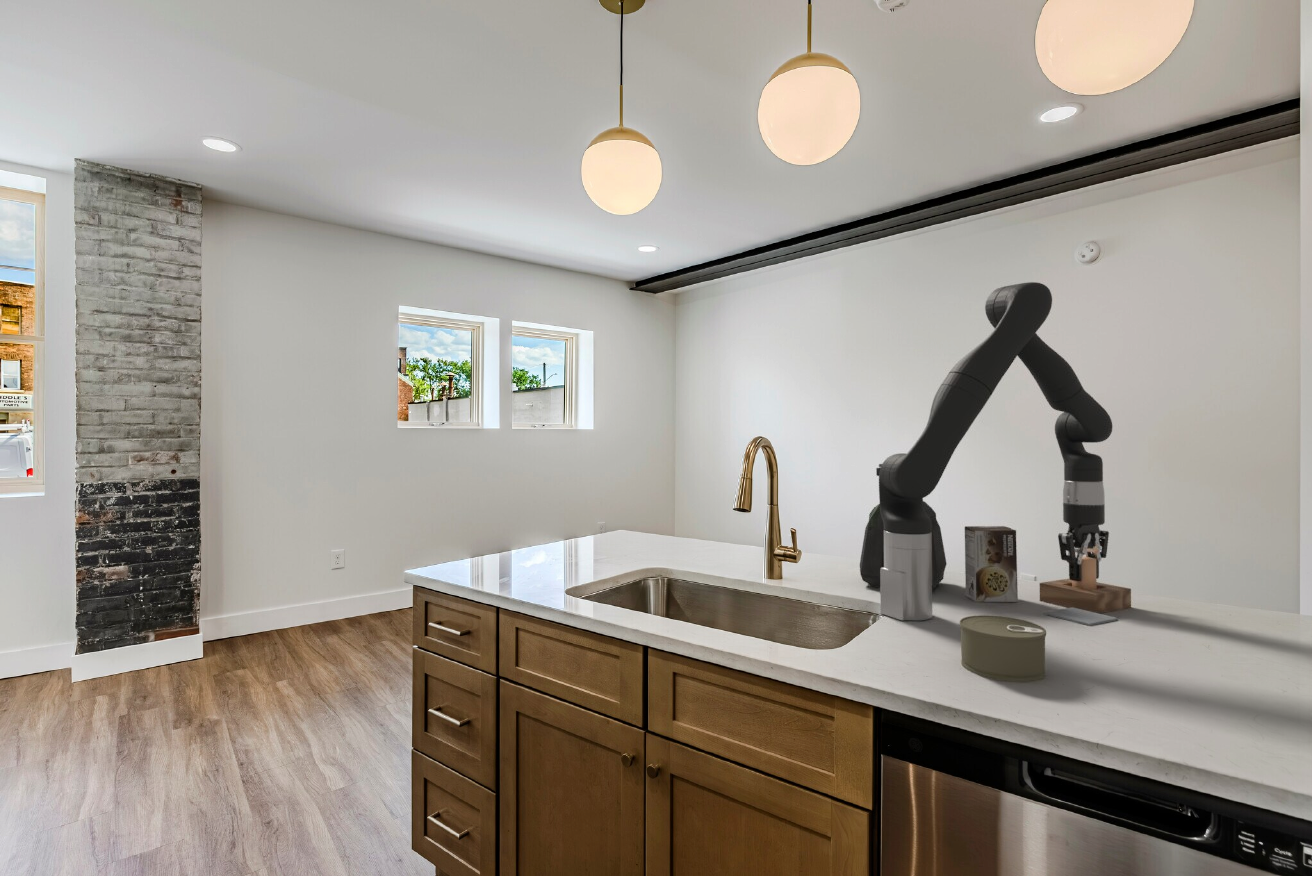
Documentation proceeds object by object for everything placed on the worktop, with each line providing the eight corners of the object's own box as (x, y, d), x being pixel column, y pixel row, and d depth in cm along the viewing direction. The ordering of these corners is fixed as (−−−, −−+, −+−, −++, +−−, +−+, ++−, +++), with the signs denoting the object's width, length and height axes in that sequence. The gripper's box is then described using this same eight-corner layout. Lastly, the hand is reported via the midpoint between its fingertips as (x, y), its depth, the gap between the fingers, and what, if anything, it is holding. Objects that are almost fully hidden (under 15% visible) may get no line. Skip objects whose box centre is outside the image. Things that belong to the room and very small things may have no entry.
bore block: (1095, 614, 131) (1095, 594, 131) (1039, 600, 142) (1039, 582, 142) (1131, 607, 136) (1130, 588, 136) (1074, 595, 147) (1074, 577, 147)
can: (963, 651, 109) (963, 611, 109) (1045, 664, 103) (1045, 621, 103) (956, 674, 98) (956, 630, 98) (1047, 689, 92) (1047, 642, 92)
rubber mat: (1089, 625, 123) (1089, 623, 123) (1044, 614, 131) (1043, 612, 131) (1117, 620, 126) (1117, 618, 126) (1072, 609, 135) (1072, 607, 135)
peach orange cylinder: (1088, 607, 136) (1087, 560, 136) (1067, 603, 140) (1067, 557, 140) (1101, 605, 137) (1100, 559, 138) (1080, 600, 142) (1080, 555, 142)
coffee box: (1005, 595, 147) (1004, 525, 147) (1018, 602, 140) (1017, 529, 140) (964, 595, 147) (963, 525, 148) (975, 602, 141) (974, 529, 141)
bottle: (857, 586, 156) (856, 464, 156) (875, 574, 170) (874, 462, 170) (936, 596, 146) (934, 466, 147) (948, 582, 160) (947, 463, 160)
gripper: (1079, 504, 132) (1080, 586, 132) (1122, 501, 138) (1122, 579, 138) (1045, 501, 139) (1045, 579, 139) (1086, 498, 145) (1087, 573, 145)
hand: (1084, 579), depth 139 cm, fingers open, 5 cm apart
